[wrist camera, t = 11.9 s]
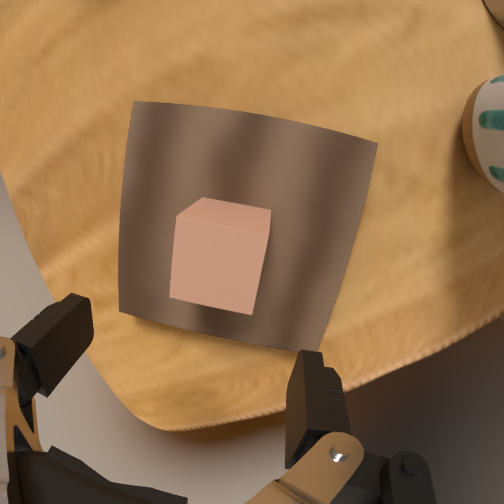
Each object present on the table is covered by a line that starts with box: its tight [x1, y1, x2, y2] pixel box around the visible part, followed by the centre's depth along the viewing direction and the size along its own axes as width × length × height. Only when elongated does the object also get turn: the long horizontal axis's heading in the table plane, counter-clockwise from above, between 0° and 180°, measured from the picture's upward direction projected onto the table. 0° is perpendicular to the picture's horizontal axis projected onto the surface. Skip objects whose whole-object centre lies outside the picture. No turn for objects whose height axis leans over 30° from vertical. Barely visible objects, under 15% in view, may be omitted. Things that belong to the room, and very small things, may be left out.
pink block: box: [169, 197, 271, 315], centre depth 20 cm, size 5×5×6 cm
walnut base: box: [118, 101, 378, 352], centre depth 24 cm, size 18×18×3 cm
